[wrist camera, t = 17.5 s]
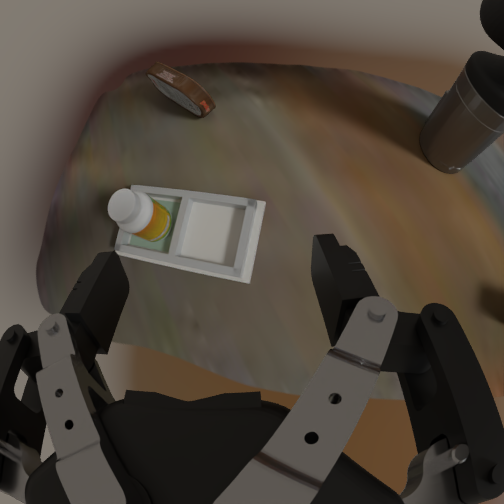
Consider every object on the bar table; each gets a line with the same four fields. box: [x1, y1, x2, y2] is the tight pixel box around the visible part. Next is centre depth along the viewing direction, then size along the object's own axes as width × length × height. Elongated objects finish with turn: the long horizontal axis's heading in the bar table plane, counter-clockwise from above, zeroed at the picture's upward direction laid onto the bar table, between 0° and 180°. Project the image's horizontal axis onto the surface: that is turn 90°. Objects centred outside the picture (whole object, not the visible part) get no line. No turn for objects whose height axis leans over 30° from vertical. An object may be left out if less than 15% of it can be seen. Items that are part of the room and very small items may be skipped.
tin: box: [146, 62, 216, 118], centre depth 38 cm, size 15×3×8 cm, turn 47°
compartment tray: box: [114, 185, 266, 284], centre depth 38 cm, size 11×21×2 cm, turn 79°
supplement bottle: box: [108, 189, 173, 242], centre depth 34 cm, size 5×5×10 cm
